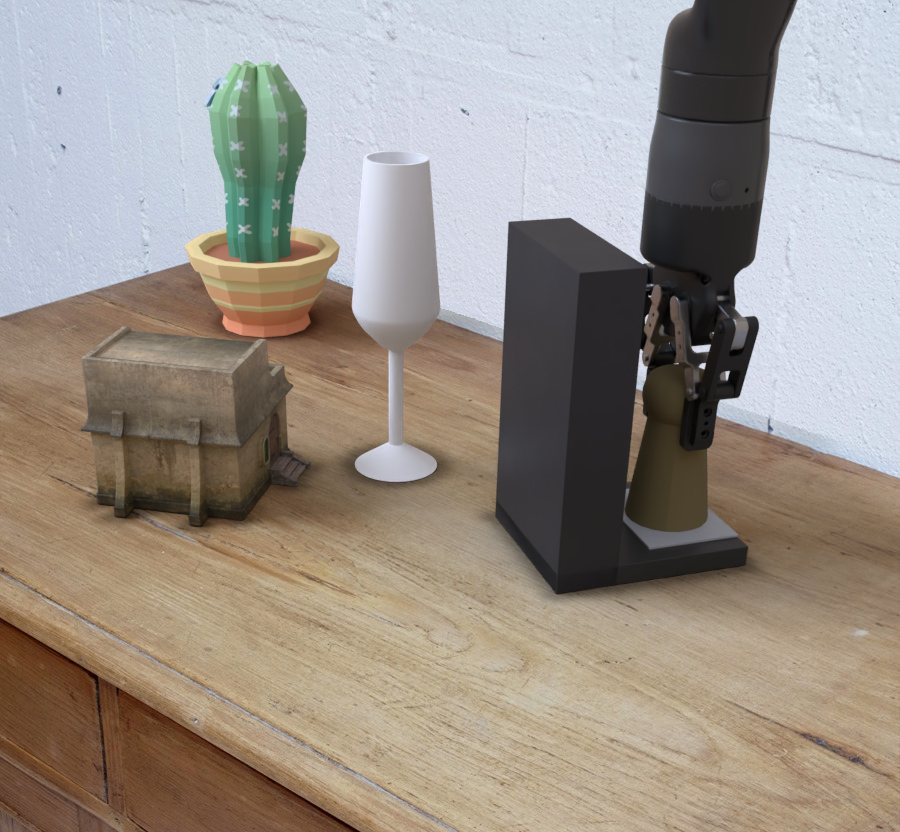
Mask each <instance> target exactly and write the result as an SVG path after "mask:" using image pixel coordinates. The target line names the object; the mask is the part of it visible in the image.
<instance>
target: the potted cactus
mask: <svg viewBox="0 0 900 832" xmlns="http://www.w3.org/2000/svg"><path fill="white" fill-rule="evenodd" d="M211 87H212V90H211V91H209V93H208V94H207V96H206V98H205V100H204V101H203V104H202V106H203V107H205V108H206V109H207V110H208V114H209V122H210V132H211V139H212V149H213V154H214V157H215V161H216V163H217V165H218V168H219V171H220V174H221V177H222V180H223V189H224V207H225V208H224V209H225V227H226V228H224V229H219V230H215V231H211V232H207V233H203V234H199V235H197V236H196V237H194V238H193V239H192V240H190V241H189V242H188V243H186V244H185V245H184V248H185V252H186V254H187V255H186V256H187V258H188V261H189V263H190V264H191V266H192V268H193V270H194V271H195V272H196V273H199V275H200V277H201V280H202V282H203V284H204V286H205V288H206V291H207V293H208V295H209V298H211V300H212V302H213V303H214V304H215V305H216V306H217V308H218V309H219V311H221V313H222V314H223V315H222V322H221V324H222V325H223V327H224V328H225V331H228V332H230V333H234V334H237V335H239V336H244V337H254V338H273V337H283V336H285V337H286V336H289V335H293V334H295V333H299V332H303V331H304V330H306V328H308V326H309V325H311V319H310V316H309V312H310V310H311V309H312V307H313V305H314V304H315V303H316V301H317V300H318V298H319V297H320V295H321V294H322V292H323V290H324V288H325V284H326V280H327V277H328V274H329V272H330V269H331V268H332V267H333V266H334V265H335V264H336V263H337V262H338V259H339V254H340V249H341V245H339V243H338V242H337V241H336V240H335V239H334V238H333V237H332V236H331V235H329V234H325V233H322V232H318V231H315V230H311V229H307V228H304V227H303V228H302V227H292V225H293V214H294V205H295V196H296V195H295V194H296V185H297V181H298V178H299V175H300V173H301V169H302V166H303V164H304V161H305V158H306V155H307V126H308V125H307V124H308V123H307V122H308V108H307V107H306V105H305V104H304V102H303V99H302V98H301V95H300V94H299V93H298V91H297V90H296V88H295V87H294V85H293V83H292V82H291V81H290V79H289V77H288V76H287V75H286V73H285V72H284V70H283V69H282V67H281V66H280V64H279V63H275V64H273V65H272V63H271V61H269V60H268V61H267V60H265V61H263V62H261V63H259V64H257V65H256V64H255V63H253V62H251V61H249V60H243V63H242V64H239V63H237V62H234V63H233V64H232V66H231V67H230V68H229V71H228V72H227V73H226V75H223V77H220V78H219V77H218V78H217V79H216V80H215V81H214V83H213V84H212V85H211Z"/></svg>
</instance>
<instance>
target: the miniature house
mask: <svg viewBox="0 0 900 832" xmlns="http://www.w3.org/2000/svg"><path fill="white" fill-rule="evenodd" d="M80 360H81V368H82V376H83V386H84V392H85V400H86V407H87V419H86V422H85V423H84V424H83V425H82V427H81V428H80V432H86V433H90V438H91V439H90V440H91V448H92V454H93V463H94V464H93V465H94V470H95V471H94V472H95V477H96V478H95V480H96V486H97V492H96V494H95V496H96V503H97V504H98V505H104V506H112V507H113V514H114V517H115V518H123V519H126V518H127V517H128V516H129V515H130V514H131V513H132V512H133V511H134V510H135V509H138V510H148V511H157V512H164V513H171V514H172V513H173V514H183V515H188V525H189V526H192V527H202V526H203V524H204V523H205V522H206V521H207V520H208V519H209V518H215V519H224V520H225V519H226V520H234V521H244V520H246V518H247V517H248V515H250V513H251V511H252V510H253V509H254V508H255V506H256V505H257V504H258V502H259V501H260V499H262V497H263V496H264V495H265V493H266V492H267V490H268V489H269V488H270V486H271V485H272V484H273V485H283V486H292V487H293V486H294V487H298V486H299V479H300V477H301V475H302V474H303V473H304V472H305V470H306V469H309V470H310V469H311V467H312V465H311V464H312V462H311V461H308V460H305V459H303V458H302V457H300V456H298V455H296V453H295V451H294V450H291V449H290V448H289V440H288V439H289V438H288V437H289V436H288V415H287V397H286V396H287V395H288V394H289V393H290V391H292V389H293V388H294V384H293V383H291V382H289V380H288V379H287V377H286V372H285V370H286V369H285V364H282V363H272V362H269V351H268V341H267V339H265V338H257V340H255V341H245V340H237V339H234V340H233V339H225V338H224V339H223V338H222V339H221V338H213V337H203V336H201V337H200V336H191V335H180V334H169V333H158V332H148V331H138V330H137V331H136V330H135V331H134V330H132V328H131V327H130V326H125V325H124V326H120V327H119V328H118V329H117V330H116V331H115V332H113V333H112V334H111V335H109V336H108V337H106V338H105V339H104V340H103V341H101V342H100V343H99V344H98V345H96V346H95V347H94V348H92V349H91V350H89V352H87V353H86V354H84V355H83V356H82V357H81V358H80Z"/></svg>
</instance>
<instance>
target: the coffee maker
mask: <svg viewBox="0 0 900 832" xmlns="http://www.w3.org/2000/svg"><path fill="white" fill-rule="evenodd" d="M507 223H508V224H507V226H508V227H507V243H506V244H507V246H506V264H505V265H506V267H505V268H506V269H505V287H504V288H505V289H504V313H503V314H504V315H503V335H502V336H503V337H502V357H501V379H500V401H499V426H498V443H497V445H498V447H497V471H496V492H495V493H496V494H495V512H494V516H495V519H496V520H497V521H498V522H499V524H501V526H502V527H503V529H504V530H505V531H506V532H507V534H508V535H509V536H510V537H511V539H512V540H513V541H514V542H515V543H516V545H517V546H518V547H519V549H520V550H521V551H522V552H523V554H524V555H525V557H527V559H528V560H529V562H530V563H531V564H532V565H533V566H534V568H535V569H536V570H537V571H538V573H539V574H540V576H541V577H542V578H543V579H544V580H545V582H546V583H547V584H548V586H549V587H550V588H551V589H552V591H553V592H554V593H555V594H557V595H559V594H564V593H571V592H578V591H583V590H592V589H597V588H603V587H611V586H616V585H622V584H624V585H625V584H630V583H637V582H642V581H643V582H644V581H649V580H655V579H656V580H657V579H661V578H668V577H669V578H670V577H675V576H681V575H689V574H696V573H704V572H708V571H716V570H722V569H727V568H734V567H740V566H746V565H747V558H748V552H749V551H748V550H749V546H748V545H747V544H746V543H745V542H744V541H743V540H742V539H740V537H739V534H738V533H737V532H736V531H735V530H734V529H733V528H732V527H731V526H730V525H728V524H727V522H725V521H724V520H723V519H722V518H721V517H720V516H719V515H717V514H716V513H715V511H713V510H712V509H710V507H708V518H707V521H706V522H705V523H704V524H703V525H702V526H701V527H698V528H696V529H693V530H689V531H682V532H664V531H658V530H652V529H649V528H646V527H642V526H640V525H638V524H636V523H634V522H633V521H631V520H630V519H629V518H628V517H627V516H626V513H625V510H624V509H625V505H626V501H627V497H628V493H629V489H630V485H631V481H628V474H629V463H630V453H631V443H632V433H633V424H634V415H635V404H636V403H635V402H636V395H637V394H636V393H637V386H638V385H637V383H638V374H639V365H640V354H641V349H640V345H641V335H642V325H643V315H644V305H645V295H646V285H647V275H648V267H646V266H645V265H643V264H644V263H642V262H640V261H639V260H637V259H636V258H634V257H632V256H631V255H629V254H628V253H627V252H624V251H623V250H621V249H620V248H619V247H617V246H615V245H614V244H612V243H611V242H609V241H608V240H606V239H605V238H603V237H601V236H600V235H598V234H597V233H595V232H594V231H592V230H590V229H589V228H587V227H586V226H584V225H583V224H581V223H579V222H578V221H576V220H575V219H574V218H571V217H560V218H559V217H558V218H543V219H529V220H527V219H526V220H513V221H508V222H507Z"/></svg>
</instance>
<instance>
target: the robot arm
mask: <svg viewBox="0 0 900 832" xmlns="http://www.w3.org/2000/svg"><path fill="white" fill-rule="evenodd" d="M797 3H798V0H694V1H693V5H692V6H691V7H689V8H686V9H684V10H682V11H680V12H678V13H676V15H675V16H674V17H673V18H672V19H671V20H670V23H669V24H668V26H667V28H666V29H667V30H666V32H665V33H666V34H665V38H664V43H663V49H662V50H663V51H662V55H661V56H662V57H661V66H660V74H659V75H660V76H659V87H658V97H657V105H656V106H657V107H656V108H657V110H656V116H655V122H654V126H653V130H652V134H651V139H650V143H649V148H648V149H649V151H648V156H647V157H648V159H647V167H646V168H647V169H646V179H645V180H646V182H645V189H644V200H643V209H642V221H641V230H640V242H639V252H640V254H641V257H642V258H643V259H644V260H645V261H646V262H644V263H642V264H643V265H645V266H646V267H648V275H647V285H646V295H645V305H644V315H643V325H642V335H641V345H640V350H641V351H642V353H641V361H642V364H643V366H644V367H645V368H646V367H647V368H646V374H645V379H646V378H647V376H648V375H649V374H650V372H651V371H652V370H654V369H656V368H658V367H660V366H663V365H668V364H679V365H681V366H683V367H684V375H685V391H686V397H685V398H684V407H683V415H682V423H681V432H680V440H679V444H680V446H681V447H683V448H684V449H685V450H686V451H695V450H703V449H707V450H708V449H709V448H711V446H712V445H713V442H714V437H715V430H716V424H717V423H716V422H717V414H718V408H719V404H720V401H723V400H732V399H738V398H740V396H741V394H742V391H743V386H744V383H745V379H746V377H747V374H748V373H747V372H748V369H749V367H750V362H751V359H752V355H753V351H754V349H755V345H756V341H757V339H758V338H757V337H758V334H759V330H760V321H759V319H758V318H757V316H756V315H750V316H743V315H741V314H740V313H739V311H738V310H737V309H736V304H737V299H736V298H737V297H736V290H735V280H736V279H735V278H736V276H737V275H738V274H739V273H740V272H741V271H743V270H744V269H746V268H748V267H749V266H750V265H752V264H753V262H754V260H755V258H756V254H757V247H758V240H759V233H760V232H759V231H760V225H761V219H762V211H763V205H764V199H765V198H764V197H765V189H766V182H767V177H768V176H767V175H768V169H769V160H770V152H771V151H770V150H771V118H772V117H771V115H772V109H773V102H774V95H775V88H776V81H777V74H778V68H779V67H778V66H779V58H780V57H779V56H780V47H781V44H782V40H783V38H784V35H785V33H786V30H787V28H788V26H789V23H790V21H791V18H792V15H793V13H794V11H795V8H796V6H797ZM700 346H709V350H708V351H699V352H697V351H695V350H693V347H700ZM702 364H705V365H704V368H703V369H704V373H703V377H702V381H701V382H700V379H699V367H700V366H701V365H702ZM726 372H729V373H728V375H727V374H726ZM726 375H727V376H728V377H727V376H726ZM642 414H643V416H645V417H646V418H647V416H648V412H647V411H646V409H645V407H644V404H643V403H642Z"/></svg>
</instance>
